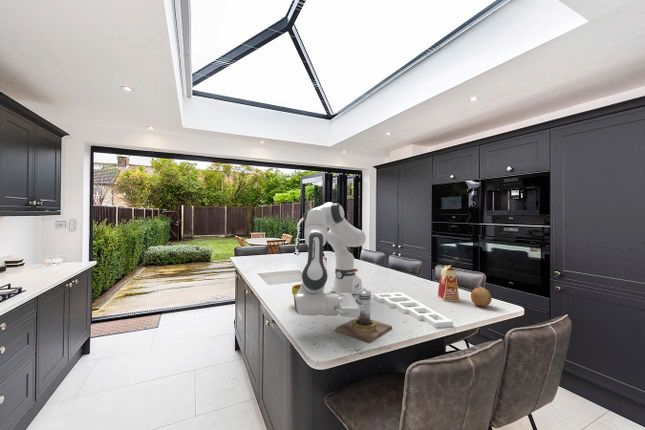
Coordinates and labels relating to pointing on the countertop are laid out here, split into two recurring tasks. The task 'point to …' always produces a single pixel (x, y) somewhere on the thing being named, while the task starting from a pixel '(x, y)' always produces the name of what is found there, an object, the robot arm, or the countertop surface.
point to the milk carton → (448, 285)
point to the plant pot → (295, 289)
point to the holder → (413, 308)
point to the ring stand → (364, 329)
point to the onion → (481, 296)
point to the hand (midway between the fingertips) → (366, 304)
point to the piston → (364, 317)
